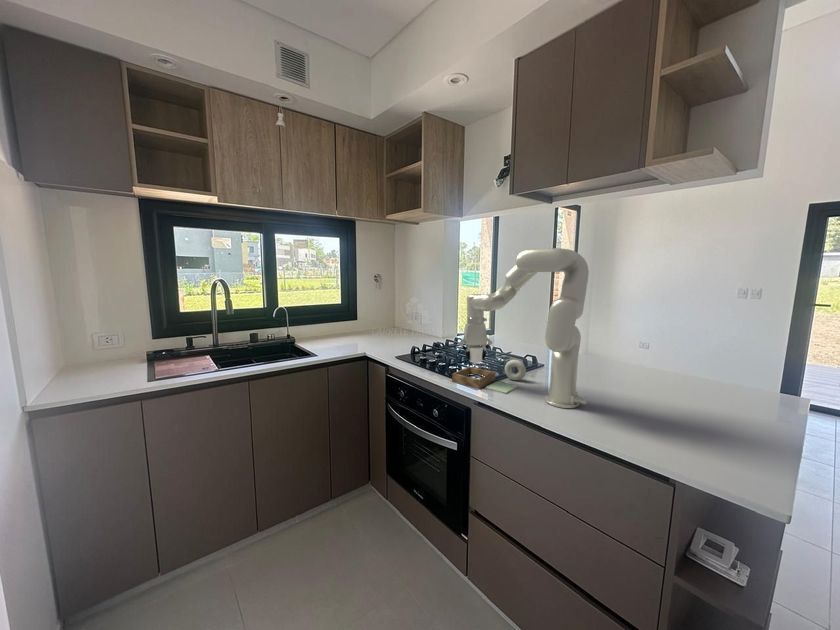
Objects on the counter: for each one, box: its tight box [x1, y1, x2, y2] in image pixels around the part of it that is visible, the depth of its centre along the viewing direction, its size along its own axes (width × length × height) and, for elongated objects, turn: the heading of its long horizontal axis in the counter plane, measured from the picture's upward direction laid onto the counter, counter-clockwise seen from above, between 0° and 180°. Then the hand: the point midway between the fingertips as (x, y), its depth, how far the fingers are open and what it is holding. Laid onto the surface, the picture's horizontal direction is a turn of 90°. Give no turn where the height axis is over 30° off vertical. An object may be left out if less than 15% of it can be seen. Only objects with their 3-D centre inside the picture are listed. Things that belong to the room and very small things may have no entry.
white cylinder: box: [469, 345, 483, 364], centre depth 157 cm, size 7×7×7 cm
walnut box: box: [451, 366, 496, 390], centre depth 159 cm, size 15×15×4 cm
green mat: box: [484, 381, 517, 395], centre depth 150 cm, size 10×10×1 cm
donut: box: [504, 359, 527, 381], centre depth 160 cm, size 10×4×10 cm, turn 58°
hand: (475, 358), depth 157 cm, fingers closed on white cylinder, 6 cm apart
